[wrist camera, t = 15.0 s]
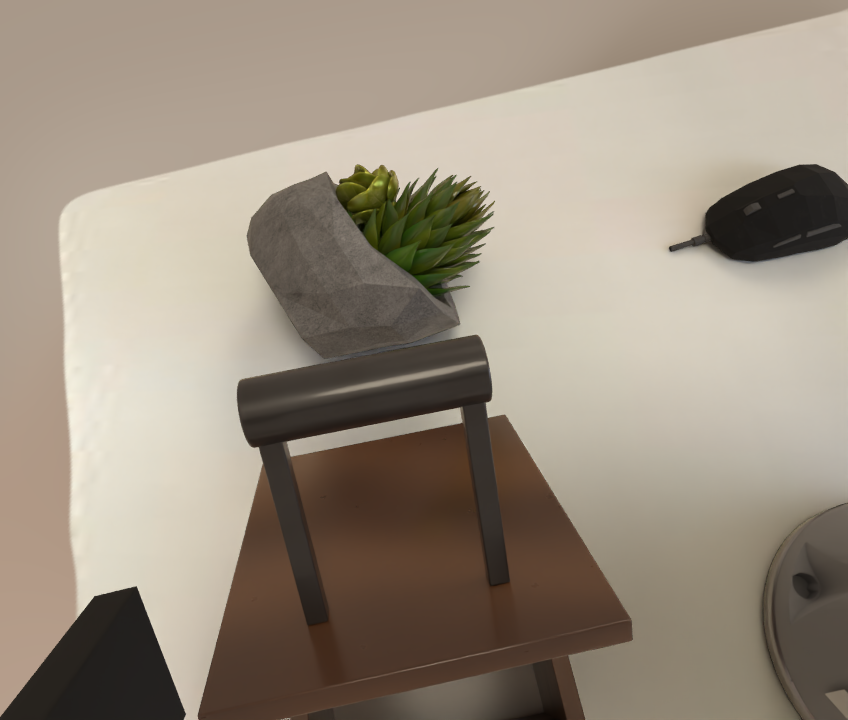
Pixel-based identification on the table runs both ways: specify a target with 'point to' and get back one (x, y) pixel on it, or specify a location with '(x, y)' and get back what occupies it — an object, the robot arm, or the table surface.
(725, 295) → the table surface
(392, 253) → the potted plant
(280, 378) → the bin lid
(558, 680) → the bin
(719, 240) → the gaming mouse
